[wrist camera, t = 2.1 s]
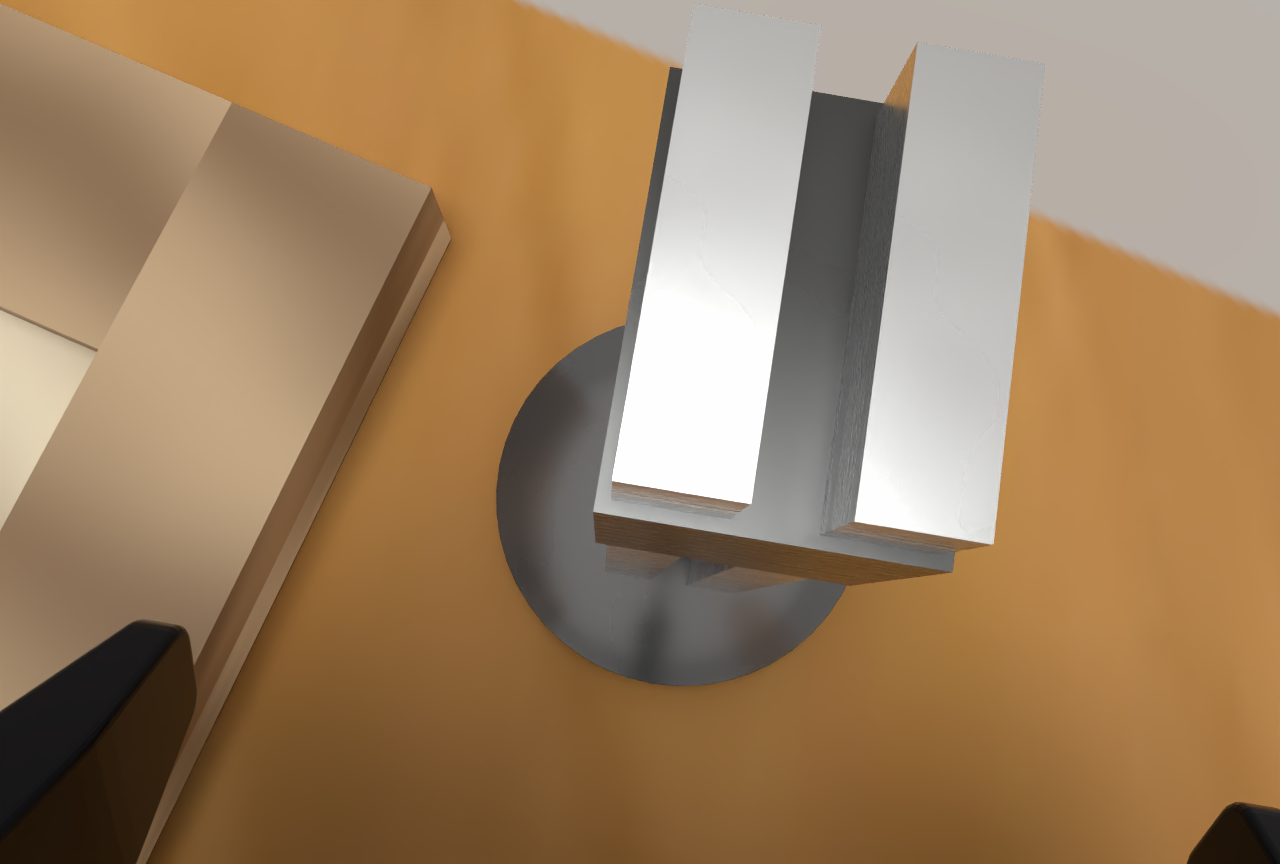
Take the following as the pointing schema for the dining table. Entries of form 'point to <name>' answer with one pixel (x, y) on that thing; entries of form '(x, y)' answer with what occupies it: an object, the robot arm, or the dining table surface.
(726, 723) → the dining table surface
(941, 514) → the round base pedestal
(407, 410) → the dining table surface
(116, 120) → the square wooden tray
